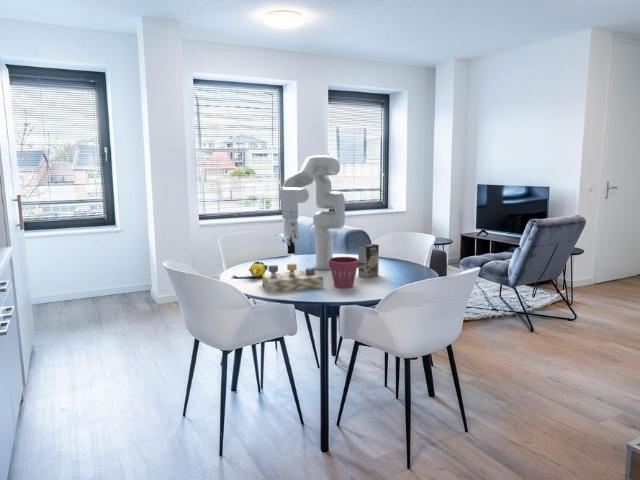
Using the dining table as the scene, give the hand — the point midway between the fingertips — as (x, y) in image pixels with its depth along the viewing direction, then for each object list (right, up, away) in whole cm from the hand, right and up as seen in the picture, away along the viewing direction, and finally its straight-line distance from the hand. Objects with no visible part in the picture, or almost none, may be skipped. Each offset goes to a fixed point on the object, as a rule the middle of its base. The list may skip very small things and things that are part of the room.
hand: (291, 253), depth 227 cm
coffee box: (+39, -12, +20) cm, 46 cm away
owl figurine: (-19, -14, +24) cm, 33 cm away
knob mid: (0, -11, +2) cm, 11 cm away
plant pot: (+25, -16, +1) cm, 30 cm away
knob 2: (+9, -13, +5) cm, 17 cm away
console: (0, -16, +3) cm, 16 cm away
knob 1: (-8, -12, -1) cm, 14 cm away
